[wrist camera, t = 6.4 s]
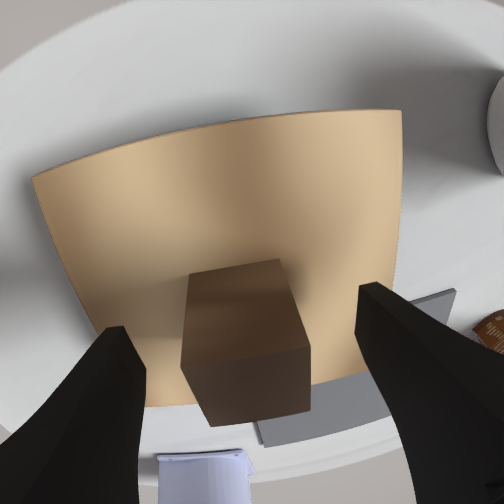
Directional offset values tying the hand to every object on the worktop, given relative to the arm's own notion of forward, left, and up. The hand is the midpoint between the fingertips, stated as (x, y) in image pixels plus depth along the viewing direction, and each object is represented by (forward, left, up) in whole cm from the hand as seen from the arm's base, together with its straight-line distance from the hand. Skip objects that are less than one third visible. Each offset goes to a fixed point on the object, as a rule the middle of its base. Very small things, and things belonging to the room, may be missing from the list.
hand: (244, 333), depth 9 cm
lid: (0, 0, -3) cm, 3 cm away
